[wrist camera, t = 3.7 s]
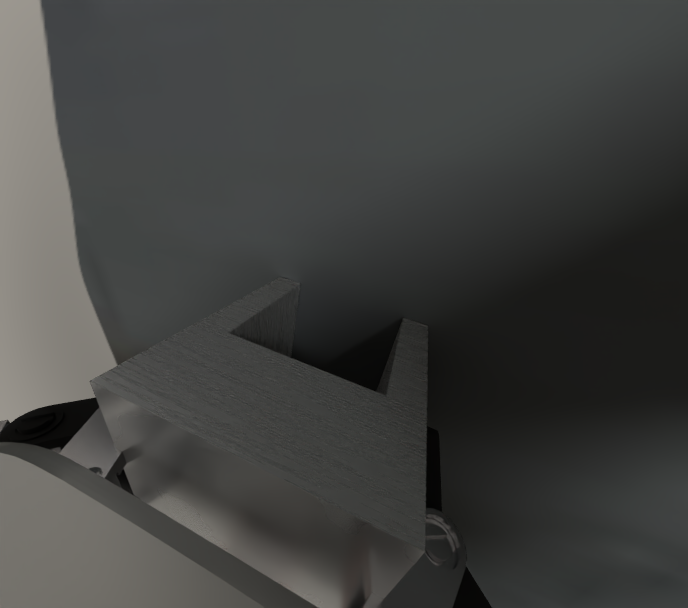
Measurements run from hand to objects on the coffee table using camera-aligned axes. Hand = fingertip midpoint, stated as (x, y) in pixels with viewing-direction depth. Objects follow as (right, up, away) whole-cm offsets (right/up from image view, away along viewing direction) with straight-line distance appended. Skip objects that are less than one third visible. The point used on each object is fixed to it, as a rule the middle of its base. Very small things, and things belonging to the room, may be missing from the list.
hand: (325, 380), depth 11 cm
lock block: (0, +1, +1) cm, 1 cm away
